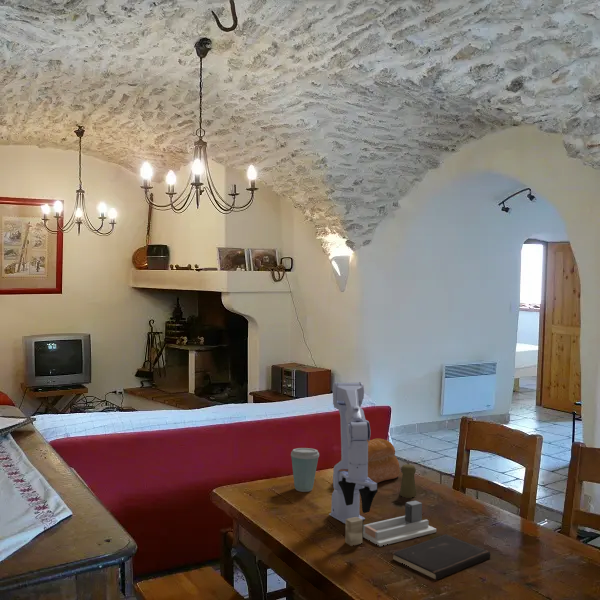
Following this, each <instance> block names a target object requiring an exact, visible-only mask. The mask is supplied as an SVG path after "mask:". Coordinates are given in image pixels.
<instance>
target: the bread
mask: <svg viewBox="0 0 600 600" xmlns="http://www.w3.org/2000/svg"><path fill="white" fill-rule="evenodd" d="M367 441H368V439H367ZM340 457H341V458H340V461H341V460H342V456H341V455H340ZM340 461H339V462H340ZM400 470H401V467H400V462H399V459H398V458H397V456H396V449H395V446H394V445H393V444H392V442H390V441H389V440H388V439H384V438H381V437H379V438H373V439H370V441H368V477H369V478H370V479H371V480H372V481H374V482H375V483H377V484H378V483H381V482H383V481H388V480H389V481H390V480H393V479H396V478H398V476H399V475H400ZM339 471H348V469H340V470H339Z"/></svg>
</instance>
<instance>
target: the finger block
mask: <svg viewBox="0 0 600 600" xmlns="http://www.w3.org/2000/svg"><path fill="white" fill-rule="evenodd" d="M363 525H364V520H362V519H360V518H358V517H353V518H348V519H346V524H345V534H344V535H345V536H344V537H345V540H344V541H345V543H346V544H347V545H349V546H350V547H353V545H354V546H357V545H361V543H362V544H363V538H364V537H363Z"/></svg>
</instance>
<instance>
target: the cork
mask: <svg viewBox="0 0 600 600" xmlns="http://www.w3.org/2000/svg"><path fill="white" fill-rule="evenodd" d="M416 470H417V469H416V466H415V465H413V464H410V463H409V464H408V463H407V464H406V463H405V464H403V465H401V467H400V471H401V474H402V475H401V482H400V490H399V496H400V497H401V496H402V497H401V498H404V497H406V499H413V498H412V497H414V498H416V497H417V496H416V495H417V488H416V481H415V480H416V479H415V474H416ZM415 496H416V497H415Z"/></svg>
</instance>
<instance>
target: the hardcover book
mask: <svg viewBox="0 0 600 600" xmlns="http://www.w3.org/2000/svg"><path fill="white" fill-rule="evenodd" d="M391 555H392V556H393V557H392V558H393V559H392V560H394V561H396V562H398V563H400V564H402V563H403V565H404V564H405V565H404V566H406V565H407V566H406V567H408V566H409V567H408V568H411V569H413V570H415V571H417V572H419V573H421V574H423V575H426V576H427V577H430V578H431V579H434V580H435V581H437V580H439V579H442V578H445V577H446V576H450V575H451V574H454V573H457V572H459V571H462V570H463V569H467V568H469V567H471V566H474V565H476V564H478V563H479V564H480V563H482V562H484V561H486V560H488V559H490V558H491V552H490V551H489V550H487V549H485V548H482V547H479V546H478V545H477V546H476V545H475V544H472V543H469V542H467V541H465V540H462V539H460V538H457V537H454V536H452V535H449V534H446V533H445V534H442V535H439V536H436V537H434V538H430V539H428V540H426V541H425V540H424V541H422V542H419V543H418V544H414V545H411V546H408V547H405V548H402V549H400V550H396V551H393V552H391Z"/></svg>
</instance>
